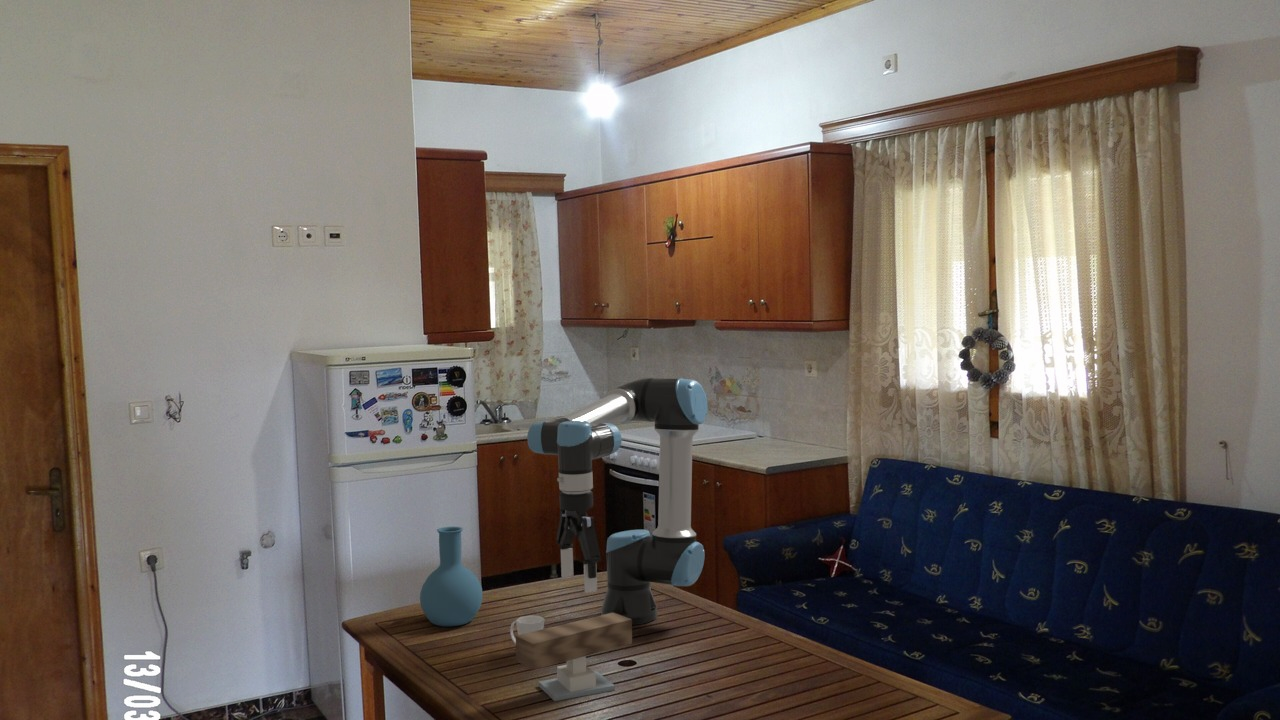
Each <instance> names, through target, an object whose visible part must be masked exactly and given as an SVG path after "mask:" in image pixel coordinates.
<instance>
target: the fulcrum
mask: <svg viewBox="0 0 1280 720" xmlns="http://www.w3.org/2000/svg"><path fill="white" fill-rule="evenodd" d="M586 659H587V656H584V657H580V658H576V659H573V660H569V661H565V662H566V664H564V665H558V666H556V678H555V677H554V678H551V679H545V680H539V681H538V687H539V688H540V689H541V690H542V691H543V692H544V693H545V694H546V695H547V696H548V697H550V699H552V700H553V701H554V702H557V701H563V700H568V699H573V698H574V699H575V698H580V697H585V696H590V695H595V694H600V693H605V692H611V691H615V690H616V685H615V684H614V683H613V682H611V681H610V680H608V679H607V678H606V677H605V676H604V675H603V674H601V673H600V672H599V671H597V670H596V671H594V670H592V669H591V668H590V667H588V666H587V662H586V661H587V660H586Z"/></svg>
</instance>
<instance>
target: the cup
mask: <svg viewBox="0 0 1280 720" xmlns="http://www.w3.org/2000/svg"><path fill="white" fill-rule="evenodd" d="M515 624H516V625H515ZM514 626H515V627H516V630H517V635H521V634H526V633H530V632H534V631H538V630H542V629H545V628H544V627H545V618H543V617H542V616H541V615H531V614H530V615H529V614H528V615H525V616H520V617H518V618H517V619H516V620H514V621H512V622H511V624H510V628H509V629H510V632H509V633H510V638H511V640H512V641H513V643H514V644H515V645H516V636H515V634H514Z"/></svg>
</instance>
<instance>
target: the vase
mask: <svg viewBox="0 0 1280 720" xmlns="http://www.w3.org/2000/svg"><path fill="white" fill-rule="evenodd" d="M463 530H464V528H463V527H461V526H444V527H440V528H437V529H436V531H437V532H438V545H439V546H438V548H439V549H438V550H439V551H438V552H439V565H438V566H437V568H436V569H435V570H433V571H432V572H430V574H429V575H428V576H427V578H426V579H425V580H424V582H423V584H422V586H421V590H420V593H419V595H420V596H419V600H420V601H419V602H420V608H421V610H422V612H423V613H424V615H425V616H426V618H427V619H428V621H429V622H430V623H432V624H433V625H435V626H439V627H445V628H447V627H458V626H459V627H460V626H463V625H466V624H468V623H470V622H471V621H473V619H474V618H475V617H476V615H477V614H478V612H479V610H480V608H481V606H482V603H483V587H482V584H481V582H480V580H479V578H477V576H476V575H475V574H474V573H473V571H472V570H470V569H469V568H467V567H465V566H464V564H463V563H462V531H463Z"/></svg>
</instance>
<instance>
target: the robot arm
mask: <svg viewBox="0 0 1280 720" xmlns="http://www.w3.org/2000/svg"><path fill="white" fill-rule="evenodd" d="M707 415H708V399H707V395H706V391H705V390H704V388H703V386H702V384H701V383H700V382H698V381H696V380H695V379H690V378H689V379H687V378H683V377H681V378H654V377H653V378H652V377H647V378H641V379H636V380H633V381H629V382H627V383H624V384H621V385H619V386H617V387H615V388H613V389H611V390H609V391H608V392H607V393H606V394H605V396H604V397H603V398H601V399H599V400H596V401H594V402H591V403H589V404H588V405H586V406H583V407H581V408H579V409H577V410H574V411H572V412H571V413H569V414H566V415H564V416H562V417H560V418H557V419H555V420H553V421H550V422H549V421H548V422H546V421H540V422H538V421H537V422H534V423H532V425H530V427H529V428H528V432H527V437H526V438H527V439H526V440H527V446H528V447H529V450H530V451H531V452H532V453H535V454H542V455H546V456H547V455H551V456H552V455H553V456H557V458H558V460H557V461H558V462H557V463H558V477H557V479H556V481H557V482H558V486H559V487H558V488H559V490H560V492H559V494H558V495H559V496H558V499H559V509H560V513H559V523H558V528H557V534H556V540H555V542H556V544H557V545H558V547H559V549H560V568H561V569H560V572H561V578H562V579H565V578H571V577H572V578H573V577H574V549H573V547H574V544H573V541H574V538H575V537H576V538H577V539H578V542H579V544H580V549H581V552H582V555H583V558H584V559H583V562H582V564H583V580H584V581H583V583H584V584H583V588H584V593H585V594H589V593H590V594H591V593H594V592H595V593H596V592H598V573H597V569H598V568H597V566H598V565H597V563H599V562H601V561H602V557H601V551H600V547H599V542H598V538H597V532H596V529H595V518H594V516H588V512H587V511H589V510H591V509H592V508H593V507H594V492H593V491H592V490H593V488H594V484H593V483H594V482H593V481H594V480H593V479H594V477H593V460H597V459H601V458H604V457H605V458H607V457H608V456H611V455H613V454H615V453H617V452H618V450H619V449H620V448H621V445H622V440H623V438H622V433H621V431H620V429H619V428H618V427H617V426H616V425H618V424H619V425H623V424H624V425H625V424H627V423H630V422H649V423H650V422H651V423H654V431H656V433H657V434H658V435H659V469H658V470H659V471H658V472H659V475H658V477H659V478H658V518H657V519H658V520H657V522H658V523H657V524H658V525H657V528H655V529H654V530H653V531H652V533H650V531H649V530H648V529H630V530H624V531H619V532H615V533H612V534H611V535H610V536H609V537H607V540H606V551H605V553H606V577H607V578H606V580H607V584H606V585H607V588H606V593H605V596H604V598H603V599H604V600H603V602H602V606H601V610H600V611H601V613H600V614H601V615H604V614H608V613H616V614H619V615H621V616H624V617H627V618H630V619H632V626H633V625H641V624H642V625H643V624H647V623H650V622H652V620H653V621H654V620H656V619H657V617H658V607H657V604H656V601H655V598H654V596H653V595H654V594H653V592H652V590H651V583H655V584H660V585H661V584H662V585H668V586H673V587H690V586H692V585H694V584H695V583H696V582H697V581H698V579H699V577H700V575H701V573H702V571H703V567H704V564H705V556H706V555H705V549H704V545H703V544H702V543H700V542H698V541H697V532H695V530H694V529H693V528H692V525H691V524H692V488H693V487H692V484H693V483H692V481H693V478H692V477H693V475H692V473H693V438H694V436H695V435H696V433H697V432H699V425H702V424H703V423H704V422H705V421H706V419H707ZM651 534H652V535H651ZM651 536H652V537H651Z"/></svg>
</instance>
